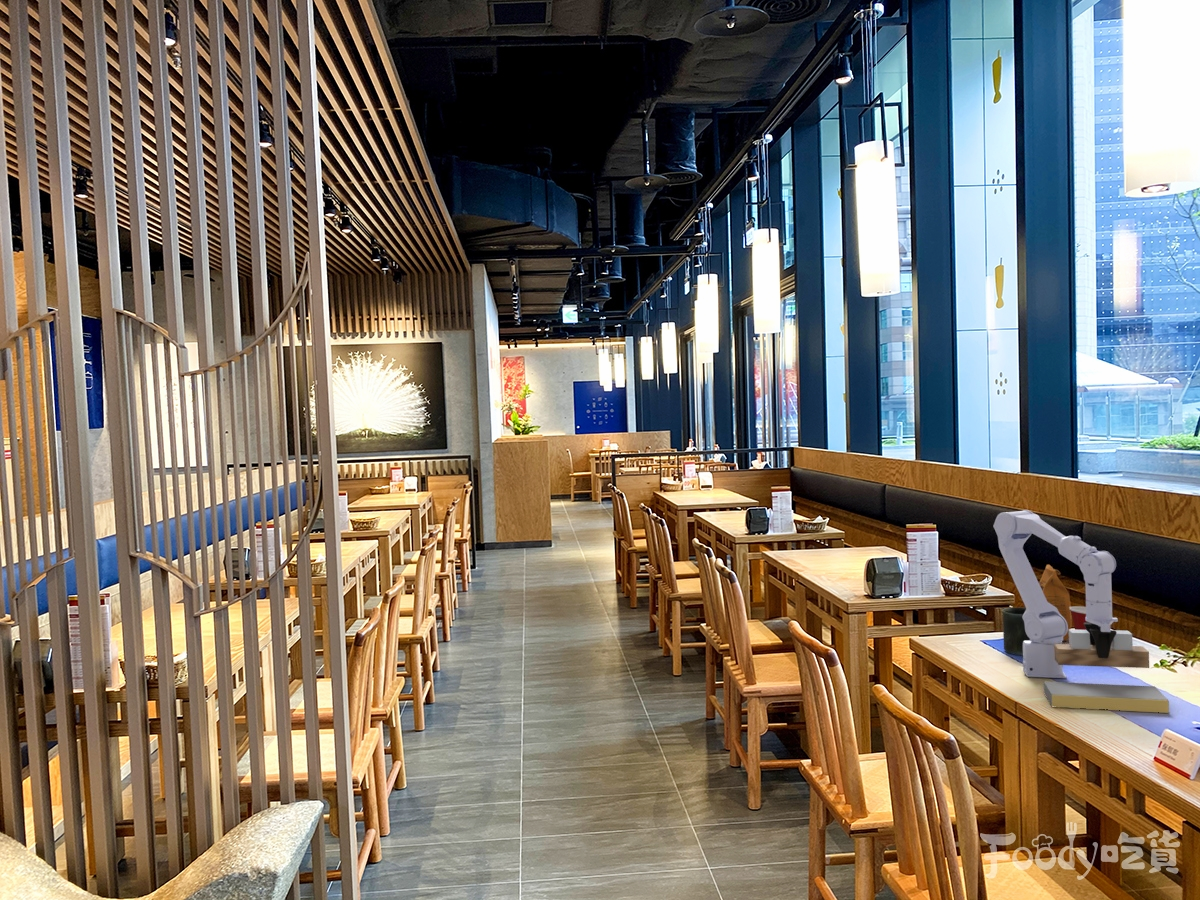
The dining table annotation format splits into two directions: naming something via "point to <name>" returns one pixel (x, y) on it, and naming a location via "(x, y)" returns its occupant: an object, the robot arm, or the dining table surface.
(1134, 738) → the dining table surface
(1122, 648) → the block
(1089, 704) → the dock
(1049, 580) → the coffee package
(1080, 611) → the plastic cup
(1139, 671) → the dining table surface
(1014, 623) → the mug
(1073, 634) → the block
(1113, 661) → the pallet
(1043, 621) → the robot arm
